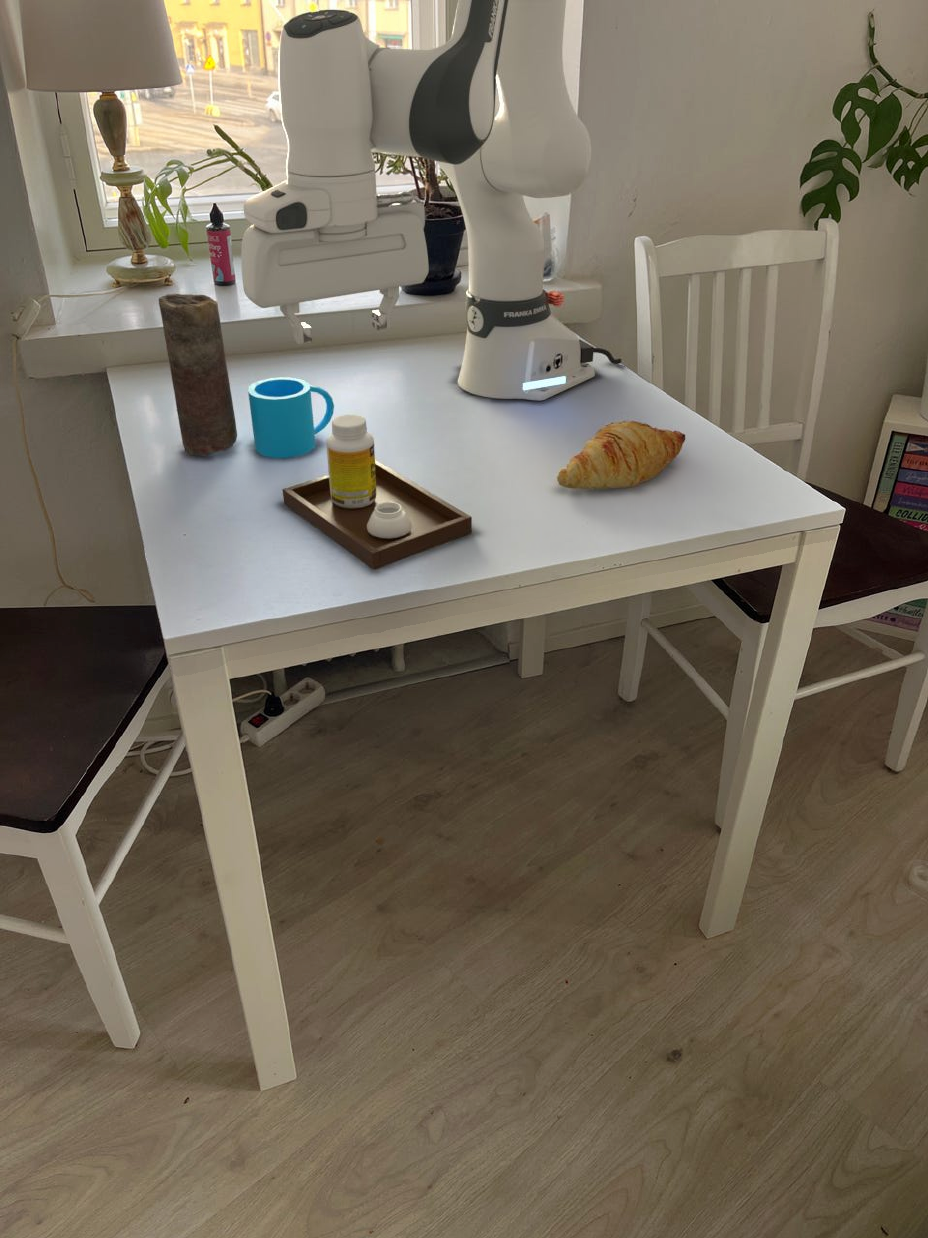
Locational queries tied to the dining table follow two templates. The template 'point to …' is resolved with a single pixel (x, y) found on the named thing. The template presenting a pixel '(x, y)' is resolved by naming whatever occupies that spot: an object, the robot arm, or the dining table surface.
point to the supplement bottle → (351, 463)
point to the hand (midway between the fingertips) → (343, 335)
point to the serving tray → (349, 526)
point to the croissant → (621, 456)
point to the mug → (285, 416)
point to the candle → (199, 372)
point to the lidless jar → (388, 521)
